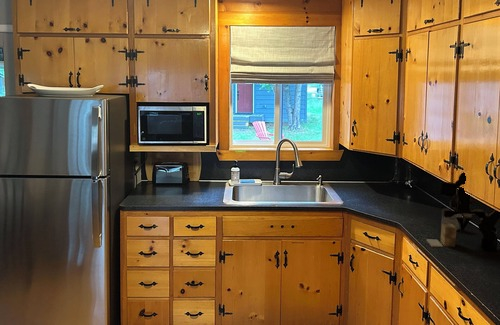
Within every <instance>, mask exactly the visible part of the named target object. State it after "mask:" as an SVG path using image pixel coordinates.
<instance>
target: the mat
mask: <svg viewBox="0 0 500 325" xmlns="http://www.w3.org/2000/svg"><path fill="white" fill-rule="evenodd" d="M426 243H428V244H429V245H430V246H431V248H444V246H443V245H442V243H441V242H440V241H439V240H438V239H430V238H429V239H428V238H426Z"/></svg>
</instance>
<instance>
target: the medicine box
mask: <svg viewBox="0 0 500 325" xmlns="http://www.w3.org/2000/svg"><path fill="white" fill-rule="evenodd" d="M440 224H441V225H440V228H441V227H442V224H453V225H454V226H455V227H456V231H458V230H460V227H459V223H458V220H457V219H456V218H455V217H454V216H452V217H444V216H443V215H442V214H441V223H440Z"/></svg>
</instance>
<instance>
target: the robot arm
mask: <svg viewBox="0 0 500 325" xmlns="http://www.w3.org/2000/svg"><path fill="white" fill-rule="evenodd" d="M462 172H463V171H462ZM462 172H461V173H460V174H459V176H458V180H456V181H455V182H451V181H445V180H444V181H442V184H441V189H440V196H441V197H448V198H455V196H457V198H456V201H455V200H453V199H451V200H449V208H446V207H445V208H443V207H442V209H441V210H440V215H441V216H442V215H443V216H444V217H452V216H454V217H455V218H456V219H457V220H458V223H459V230H460V232H464V230H465V229H466V227H467V225H468V223H470V221H471V220H473V219H474V218H473V217H472V216H476V217H477V218H479V219H480V220H479V221H478V222H479V224H478V225H477V226H478V231H479V232H481V236H480V237H479V238H480V239H479V245H478V247H479V248H480V249H482V250H483V251H493V252H494V251H495V252H499V249H498V240H499V238H498V237H499V236H498V231H499V230H498V229H497V228H496V224H497V222H498V221H499V219H500V212H498V211H496V210H495V209H494V210H493V211H492V212H490V213H488V212H485V211H484V210H483V209H481V208H477V209H476V208H475V209H473V210H471V205H472V195H471V196H470V195H468V194H466V193H465V191H464V188H462V187H463V186H464V184H465V181H466V176H465V173H464V172H463V173H462ZM460 186H462V187H460ZM451 208H452V209H451Z"/></svg>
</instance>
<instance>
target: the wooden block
mask: <svg viewBox="0 0 500 325" xmlns="http://www.w3.org/2000/svg"><path fill="white" fill-rule="evenodd" d="M456 238H457V230H456V227H455V226H454V225H453V224H442V227H441V226H440V241H439V242H440V243H441V244H443V245H444V246H443V247H456Z"/></svg>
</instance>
